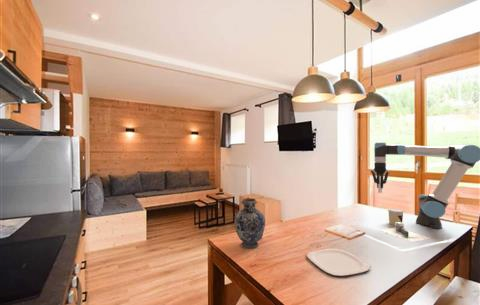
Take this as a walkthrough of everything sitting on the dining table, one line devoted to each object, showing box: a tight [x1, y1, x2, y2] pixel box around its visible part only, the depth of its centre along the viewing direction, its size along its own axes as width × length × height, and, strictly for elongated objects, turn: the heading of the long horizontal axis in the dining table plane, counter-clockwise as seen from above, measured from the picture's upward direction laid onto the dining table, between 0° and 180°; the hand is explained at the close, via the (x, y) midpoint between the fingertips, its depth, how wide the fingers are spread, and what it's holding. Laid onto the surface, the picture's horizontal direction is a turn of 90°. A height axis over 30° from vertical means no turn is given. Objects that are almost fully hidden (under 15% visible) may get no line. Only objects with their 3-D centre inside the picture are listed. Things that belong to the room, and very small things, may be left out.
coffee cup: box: [387, 208, 404, 226], centre depth 169 cm, size 9×9×12 cm
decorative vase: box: [234, 196, 266, 250], centre depth 137 cm, size 21×19×28 cm
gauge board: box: [379, 226, 431, 243], centre depth 149 cm, size 18×22×2 cm
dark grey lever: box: [394, 222, 409, 236], centre depth 150 cm, size 13×5×5 cm, turn 166°
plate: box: [306, 248, 371, 277], centre depth 115 cm, size 25×25×2 cm
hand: (380, 192), depth 174 cm, fingers closed
